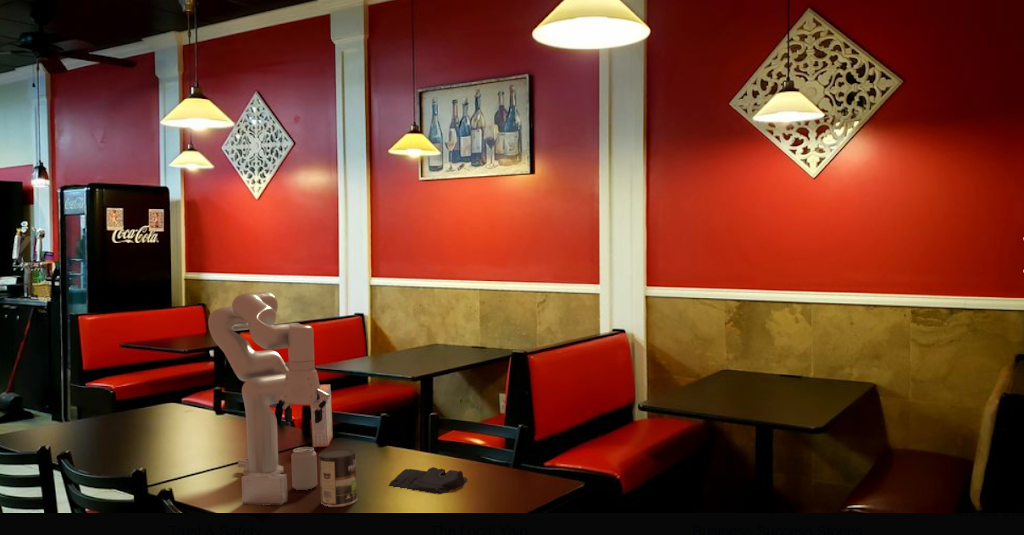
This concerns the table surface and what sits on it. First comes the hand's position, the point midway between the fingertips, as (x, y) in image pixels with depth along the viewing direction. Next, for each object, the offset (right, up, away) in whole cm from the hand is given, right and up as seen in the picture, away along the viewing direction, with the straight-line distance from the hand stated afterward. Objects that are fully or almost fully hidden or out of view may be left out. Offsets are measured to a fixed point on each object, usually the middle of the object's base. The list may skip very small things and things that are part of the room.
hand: (303, 421), depth 243 cm
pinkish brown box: (-8, -21, -13) cm, 26 cm away
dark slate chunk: (+38, -20, +1) cm, 43 cm away
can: (0, -20, 0) cm, 21 cm away
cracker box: (-8, -19, +56) cm, 60 cm away
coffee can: (+14, -21, -14) cm, 28 cm away
